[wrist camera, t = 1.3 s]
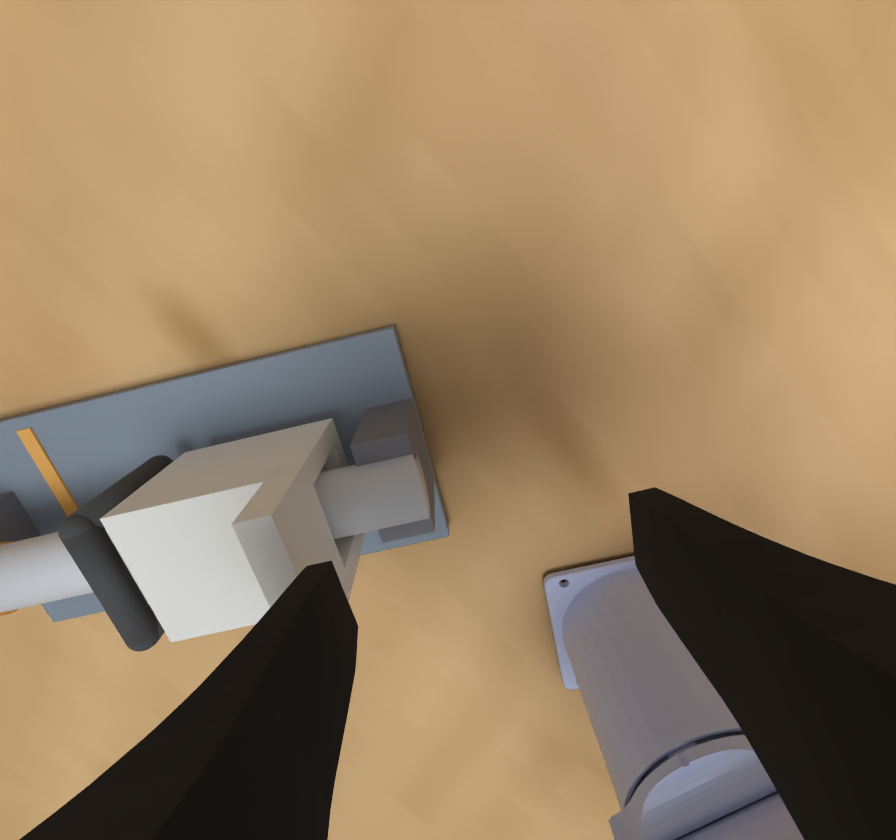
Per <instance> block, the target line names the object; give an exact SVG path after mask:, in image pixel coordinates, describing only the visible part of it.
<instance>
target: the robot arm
mask: <svg viewBox="0 0 896 840" xmlns="http://www.w3.org/2000/svg"><path fill="white" fill-rule="evenodd" d="M628 494H629V504H630V514H631V524H632V535H633V545H634V555H635V556H630V557H626V558H621V559H616V560H611V561H607V562H602V563H597V564H593V565H588V566H583V567H578V568H574V569H569V570H564V571H560V572H555V573H551V574H548V575H547V576H546V577H545V578H544V580H543V584H544V589H545V595H546V600H547V605H548V610H549V615H550V620H551V625H552V631H553V636H554V641H555V646H556V651H557V656H558V662H559V667H560V672H561V677H562V681H563V685H564V687H565V688H567V689H570V690H573V689H578V688H580V691H581V694H582V697H583V700H584V703H585V706H586V709H587V711H588V714H589V717H590V720H591V723H592V726H593V729H594V732H595V734H596V737H597V740H598V743H599V746H600V749H601V752H602V755H603V758H604V760H605V763H606V766H607V769H608V772H609V775H610V778H611V781H612V784H613V786H614V789H615V792H616V795H617V798H618V801H619V804H620V807H621V811H620V812H619V813H617V814H616V815H614V816H612V817H611V818H610V819H609V823H610V826H611V829H612V833H613V836H614V839H615V840H896V585H895V584H891V583H888V582H885V581H882V580H878V579H875V578H872V577H869V576H866V575H863V574H860V573H857V572H854V571H851V570H848V569H845V568H843V567H840V566H837V565H834V564H831V563H828V562H825V561H822V560H820V559H817V558H814V557H811V556H809V555H806V554H804V553H801V552H799V551H796V550H794V549H791V548H789V547H786V546H784V545H781V544H779V543H776V542H774V541H771V540H769V539H766V538H764V537H762V536H759V535H757V534H755V533H752V532H750V531H748V530H746V529H743V528H741V527H739V526H737V525H734V524H732V523H730V522H728V521H726V520H724V519H721V518H719V517H717V516H715V515H713V514H711V513H709V512H707V511H704V510H702V509H700V508H698V507H696V506H694V505H692V504H690V503H688V502H686V501H684V500H682V499H679V498H677V497H675V496H673V495H671V494H669V493H667V492H664V491H662V490H660V489H657V488H651V489H646V490H642V491H637V492H633V493H628ZM563 579H566V581H565V582H560V581H561V580H563ZM357 635H358V625H357V622H356V620H355V617H354V615H353V612H352V610H351V607H350V605H349V602H348V600H347V597H346V595H345V592H344V590H343V587H342V585H341V582H340V580H339V577H338V575H337V572H336V570H335V567H334V565H333V562H332V560H331V561H327V562H322V563H318V564H313V565H309V566H306V567H305V568H304V569H303V570H302V571H301V572H300V574H299V575H298V576H297V577H296V578H295V579H294V580H293V582H292V583H291V584H290V585H289V586H288V587H287V589H286V590H285V591H284V592H283V593H282V594H281V596H280V597H279V598H278V599H277V600H276V602H275V603H274V604H273V605H272V606H271V607H270V609H269V610H268V611H267V612H266V613H265V614H264V616H263V617H262V618H261V619H260V620H259V621H258V623H257V624H256V625H255V626H254V627H253V628H252V629H251V631H250V632H249V633H248V634H247V635H246V636H245V638H244V639H243V640H242V641H241V642H240V643H239V644H238V645H237V646H236V647H235V648H234V649H233V651H232V652H231V653H230V654H229V655H228V656H227V657H226V658H225V659H224V660H223V661H222V662H221V664H220V665H219V666H218V667H217V668H216V669H215V670H214V671H213V672H212V673H211V674H210V675H209V676H208V678H207V679H206V680H205V681H204V682H203V683H202V684H201V685H200V686H199V687H198V688H197V689H196V690H195V691H194V692H193V693H192V694H191V695H190V696H189V697H188V698H187V699H186V700H185V701H184V702H183V703H182V704H181V705H179V706H178V707H177V708H176V709H175V710H174V711H173V712H172V713H171V714H170V715H169V716H168V717H167V718H166V719H165V720H164V721H162V722H161V723H160V724H159V725H158V726H157V727H156V728H155V729H154V730H153V731H152V732H151V733H149V734H148V735H147V736H146V737H145V738H144V739H143V740H142V741H140V742H139V743H138V744H137V745H136V746H135V747H133V748H132V749H131V750H130V751H129V752H127V753H126V754H125V755H124V756H123V757H122V758H120V759H119V760H118V761H117V762H116V763H115V764H113V765H112V766H111V767H110V768H109V769H108V770H106V771H105V772H104V773H103V774H102V775H101V776H99V777H98V778H97V779H96V780H95V781H94V782H92V783H91V784H90V785H89V786H88V787H86V788H85V789H84V790H83V791H81V792H80V793H79V794H78V795H76V796H75V797H74V798H73V799H71V800H70V801H69V802H68V803H66V804H65V805H64V806H62V807H61V808H60V809H59V810H57V811H56V812H55V813H54V814H52V815H51V816H50V817H49V818H47V819H46V820H45V821H43V822H42V823H41V824H39V825H38V826H37V827H35V828H34V829H33V830H31V831H30V832H29V833H27V834H26V835H25V836H24V837H22V838H21V839H20V840H327V838H328V828H329V818H330V809H331V802H332V795H333V789H334V782H335V777H336V771H337V766H338V761H339V756H340V750H341V745H342V740H343V734H344V729H345V724H346V719H347V713H348V708H349V703H350V697H351V692H352V686H353V680H354V675H355V667H356V654H357Z"/></svg>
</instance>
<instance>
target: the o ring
mask: <svg viewBox="0 0 896 840" xmlns="http://www.w3.org/2000/svg"><path fill="white" fill-rule="evenodd" d="M172 462H173V460H172V459H171V458H169V457H168V456H164V455H157V456H154V457H152V458H150V459H149V460H147V461H146V462H144V463H143V464H142V465H140V466H139V467H137V468H136V469H135V470H133V471H132V472H130V473H129V474H127V475H126V476H125V477H123V478H122V479H120V480H119V481H118V482H116V483H115V484H113V485H112V486H110V487H109V488H108V489H106V490H105V491H103V492H102V493H100V494H99V495H98V496H96V497H95V498H93V499H92V500H91V501H89V502H88V503H86V504H85V505H83V506H82V507H81V508H79V509H78V510H76V511H75V512H73V513H72V514H71V515H69V516H68V517H66V518H65V519H64V520H63V521H62V522H61V524H60V526H59V529H58V535H59V538H60V539H61V541H62V543H63V544H64V546H65V547H66V549H67V551H68V552H69V554H70V555H71V557H72V559H73V560H74V562H75V563H76V565H77V566H78V568H79V570H80V571H81V573H82V574H83V576H84V578H85V579H86V581H87V582H88V584H89V586H90V587H91V589H92V590H93V592H94V594H95V595H96V597H97V598H98V600H99V602H100V603H101V605H102V606H103V608H104V610H105V611H106V613H107V614H108V616H109V618H110V619H111V621H112V622H113V624H114V626H115V627H116V629H117V630H118V632H119V634H120V635H121V637H122V638H123V640H124V642H125V643H126V645H127V646H128V647H129V648H130V649H131V650H134V651H144V650H147V649H149V648H151V647H152V646H154V645H155V644H156V643H157V641H158V640H159V639H160V637H161V636H162V635H163V633H164V632H165V631H164V629H163V628H162V626H161V624H160V622H159V621H158V619H157V617H156V615H155V614H154V612H153V610H152V609H151V607H150V605H149V604H148V603H147V601H146V599H145V598H144V596H143V594H142V593H141V591H140V589H139V587H138V586H137V584H136V582H135V581H134V579H133V577H132V575H131V574H130V572H129V570H128V568H127V567H126V565H125V563H124V562H123V560H122V558H121V556H120V555H119V553H118V551H117V549H116V548H115V546H114V544H113V543H112V541H111V539H110V537H109V536H108V534H107V532H106V529H105V527H104V526H103V524H102V522H101V521H100V518H102V517H103V516H104V515H105V514H107V513H108V512H109V511H111V510H112V509H113V508H114V507H116V506H117V505H118V504H120V503H121V502H122V501H123V500H125V499H126V498H127V497H129V496H130V495H131V494H132V493H134V492H135V491H136V490H137V489H139V488H140V487H141V486H143V485H144V484H145V483H146V482H148V481H149V480H150V479H152V478H153V477H154V476H155V475H157V474H158V473H159V472H161V471H162V470H163V469H164V468H166V467H167V466H168V465H170V464H171V463H172Z"/></svg>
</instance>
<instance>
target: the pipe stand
mask: <svg viewBox="0 0 896 840" xmlns="http://www.w3.org/2000/svg"><path fill="white" fill-rule="evenodd" d="M331 418H332V419H333V421H334V424H335V427H336V430H337V433H338V436H339V439H340V442H341V445H342V448H343V451H344V454H345V457H346V460H347V463H348V466H346V467H341V468H337V469H332V470H328V471H324V472H320V473H319V475H318V477H317V479H316V481H315V483H314V488H315V491H316V493H317V496H318V499H319V501H320V504H321V507H322V509H323V512H324V515H325V517H326V520H327V523H328V525H329V528H330V530H331V533H332V536H333V538H334V539H338V538H342V537H347V536H352V535H356V534H361V533H365V536H364V540H363V544H362V548H361V552H360V555H364V554H369V553H374V552H378V551H383V550H387V549H392V548H396V547H401V546H406V545H410V544H415V543H419V542H424V541H429V540H433V539H438V538H442V537H447V536H449V524H448V520H447V517H446V513H445V509H444V506H443V502H442V498H441V494H440V491H439V487H438V483H437V480H436V476H435V472H434V468H433V465H432V461H431V457H430V453H429V450H428V446H427V442H426V439H425V435H424V431H423V427H422V424H421V420H420V416H419V413H418V409H417V405H416V401H415V398H414V394H413V390H412V387H411V383H410V379H409V375H408V372H407V368H406V364H405V360H404V357H403V353H402V349H401V346H400V342H399V338H398V334H397V331H396V327H395V325H391V326H387V327H383V328H378V329H374V330H370V331H366V332H362V333H358V334H353V335H349V336H345V337H341V338H337V339H333V340H329V341H324V342H320V343H316V344H312V345H308V346H304V347H299V348H295V349H291V350H287V351H283V352H279V353H275V354H270V355H266V356H262V357H258V358H254V359H250V360H245V361H241V362H237V363H233V364H229V365H225V366H221V367H216V368H212V369H208V370H204V371H200V372H196V373H191V374H187V375H183V376H179V377H175V378H171V379H166V380H162V381H158V382H154V383H150V384H146V385H142V386H137V387H133V388H129V389H125V390H121V391H117V392H112V393H108V394H104V395H100V396H96V397H92V398H88V399H83V400H79V401H75V402H71V403H67V404H63V405H58V406H54V407H50V408H46V409H42V410H38V411H33V412H29V413H25V414H21V415H17V416H13V417H9V418H4V419H0V616H2V615H6V614H9V613H12V612H15V611H17V610H18V609H20V608H25V607H29V606H34V605H38V604H42V606H43V607H44V609H45V610H46V612H47V613H48V614H49V616H50V617H51V619H52V620H53V622H57V621H62V620H66V619H71V618H76V617H80V616H85V615H89V614H94V613H98V612H103V611H105V610H104V608H103V606H102V605H101V603H100V602H99V600H98V598H97V597H96V595H95V594H94V592H93V590H92V589H91V587H90V586H89V584H88V582H87V581H86V579H85V578H84V576H83V574H82V573H81V571H80V570H79V568H78V566H77V565H76V563H75V562H74V560H73V559H72V557H71V555H70V554H69V552H68V551H67V549H66V547H65V546H64V544H63V543H62V541H61V539H60V538H59V535H58V529H59V526H60V524H61V522H62V521H63V520H64V519H65V518H66V517H68V516H69V515H71V514H72V513H73V512H75V511H76V510H78V509H79V508H81V507H82V506H83V505H85V504H86V503H88V502H89V501H91V500H92V499H93V498H95V497H96V496H98V495H99V494H100V493H102V492H103V491H105V490H106V489H108V488H109V487H110V486H112V485H113V484H115V483H116V482H118V481H119V480H120V479H122V478H123V477H125V476H126V475H127V474H129V473H130V472H132V471H133V470H135V469H136V468H137V467H139V466H140V465H142V464H143V463H144V462H146V461H147V460H149V459H150V458H152V457H154V456H157V455H164V456H168V457H169V458H171V459H172V460H173V461H175V460H176V459H177V458H179V457H180V456H181V455H182V454H184V453H185V452H189V451H193V450H197V449H202V448H206V447H210V446H215V445H219V444H223V443H227V442H232V441H236V440H240V439H245V438H249V437H253V436H257V435H262V434H266V433H270V432H275V431H279V430H283V429H288V428H292V427H296V426H300V425H305V424H309V423H313V422H318V421H322V420H326V419H331ZM106 532H107V531H106ZM107 534H108V533H107ZM108 536H109V534H108ZM109 537H110V536H109ZM110 539H111V538H110ZM111 541H112V540H111ZM112 543H113V541H112ZM113 544H114V543H113ZM114 546H115V545H114ZM115 548H116V546H115ZM116 549H117V548H116ZM117 551H118V550H117ZM118 553H119V552H118ZM119 555H120V553H119ZM120 556H121V555H120ZM121 558H122V557H121ZM122 560H123V559H122ZM123 562H124V560H123ZM124 563H125V562H124ZM125 565H126V564H125ZM126 567H127V565H126ZM127 568H128V567H127ZM128 570H129V569H128ZM129 572H130V571H129ZM130 574H131V572H130ZM131 575H132V574H131ZM132 577H133V576H132ZM133 579H134V578H133ZM134 581H135V579H134ZM135 582H136V581H135ZM136 584H137V583H136ZM137 586H138V584H137ZM138 587H139V586H138ZM139 589H140V588H139ZM140 591H141V590H140ZM141 593H142V591H141ZM142 594H143V593H142ZM143 596H144V595H143ZM144 598H145V596H144ZM145 599H146V598H145ZM146 601H147V600H146Z"/></svg>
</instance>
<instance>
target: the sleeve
mask: <svg viewBox="0 0 896 840" xmlns="http://www.w3.org/2000/svg"><path fill="white" fill-rule="evenodd" d="M346 466H348V463H347V460H346V457H345V454H344V451H343V448H342V445H341V442H340V439H339V436H338V433H337V430H336V427H335V424H334V421H333V419H332V418H331V419H326V420H322V421H318V422H313V423H309V424H305V425H300V426H296V427H292V428H288V429H283V430H279V431H275V432H270V433H266V434H262V435H257V436H253V437H249V438H245V439H240V440H236V441H232V442H227V443H223V444H219V445H215V446H210V447H206V448H202V449H197V450H193V451H189V452H185V453H184V454H182V455H181V456H180V457H179V458H177V459H176V460H175V461H173V462H172V463H171V464H170V465H168V466H167V467H166V468H164V469H163V470H162V471H161V472H159V473H158V474H157V475H155V476H154V477H153V478H152V479H150V480H149V481H148V482H146V483H145V484H144V485H143V486H141V487H140V488H139V489H137V490H136V491H135V492H134V493H132V494H131V495H130V496H129V497H127V498H126V499H125V500H123V501H122V502H121V503H120V504H118V505H117V506H116V507H114V508H113V509H112V510H111V511H109V512H108V513H107V514H105V515H104V516H103V517H102V518H100V521H101V522H102V524H103V526H104V527H105V529H106V531H107V533H108V534H109V536H110V538H111V540H112V541H113V543H114V545H115V546H116V548H117V550H118V552H119V553H120V555H121V557H122V559H123V560H124V562H125V564H126V565H127V567H128V569H129V571H130V572H131V574H132V576H133V578H134V579H135V581H136V583H137V584H138V586H139V588H140V590H141V591H142V593H143V595H144V596H145V598H146V600H147V602H148V603H149V605H150V607H151V609H152V610H153V612H154V614H155V615H156V617H157V619H158V621H159V622H160V624H161V626H162V628H163V629H164V631H165V633H166V634H167V636H168V638H169V640H170V641H171V642H175V641H179V640H184V639H189V638H193V637H198V636H203V635H208V634H212V633H217V632H222V631H226V630H231V629H236V628H240V627H245V626H250V625H254V624H257V623H258V621H259V620H260V619H261V618H262V617H263V616H264V614H265V613H266V612H267V611H268V610H269V609H270V607H271V606H272V605H273V604H274V603H275V602H276V600H277V599H278V598H279V597H280V596H281V594H282V593H283V592H284V591H285V590H286V589H287V587H288V586H289V585H290V584H291V583H292V582H293V580H294V579H295V578H296V577H297V576H298V575H299V574H300V572H301V571H302V570H303V569H304V568H305V567H306V566H309V565H313V564H318V563H322V562H327V561H331V560H332V562H333V565H334V567H335V570H336V572H337V575H338V577H339V580H340V582H341V585H342V587H343V590H344V592H345V595H346V597H347V600H348V602H349V598H350V593H351V589H352V585H353V581H354V577H355V573H356V569H357V565H358V560H359V556H360V552H361V548H362V544H363V540H364V536H365V533H361V534H356V535H352V536H347V537H342V538H338V539H334V538H333V536H332V533H331V530H330V528H329V525H328V523H327V520H326V517H325V515H324V512H323V509H322V507H321V504H320V501H319V499H318V496H317V493H316V491H315V488H314V483H315V481H316V479H317V477H318V475H319V473H320V472H324V471H328V470H332V469H337V468H341V467H346Z"/></svg>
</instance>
